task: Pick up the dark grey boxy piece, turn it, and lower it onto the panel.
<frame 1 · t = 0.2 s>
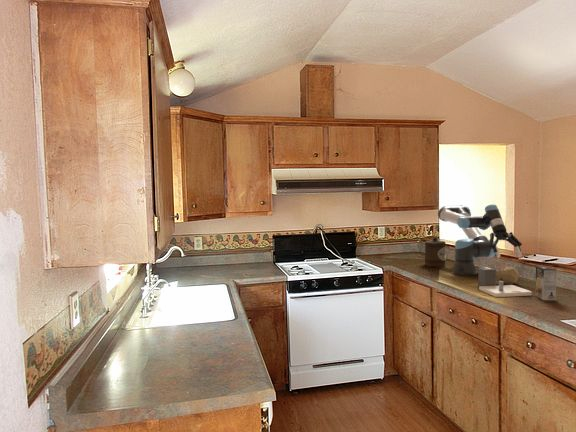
hand: (509, 256, 242), 16 cm above the counter, tool tilted 35°, fingers open, 13 cm apart
panel: (504, 292, 219), on the counter
tan faceted lump: (506, 283, 240), on the counter
coffee box: (545, 298, 206), on the counter
dark grey boxy piece: (487, 287, 231), on the counter
wooden container: (435, 265, 305), on the counter
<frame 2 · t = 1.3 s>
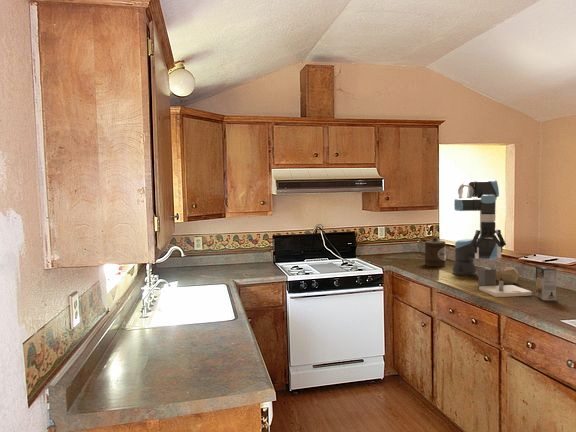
hand: (488, 258, 230), 17 cm above the counter, tool pointing down, fingers open, 13 cm apart
nothing on the counter moved.
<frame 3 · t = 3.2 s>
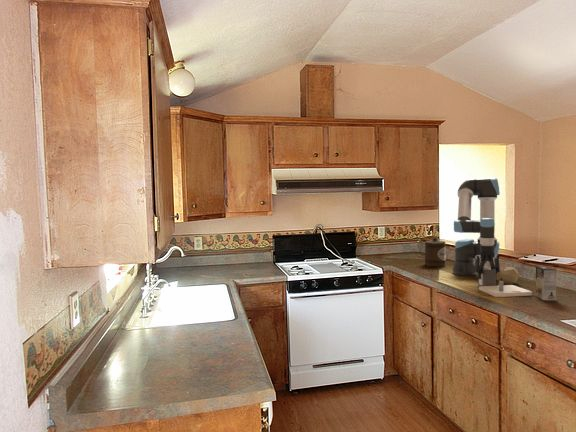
hand: (487, 284, 231), 2 cm above the counter, tool pointing down, fingers closed on dark grey boxy piece, 7 cm apart
dark grey boxy piece: (487, 287, 231), on the counter, touching gripper
everything else where it was.
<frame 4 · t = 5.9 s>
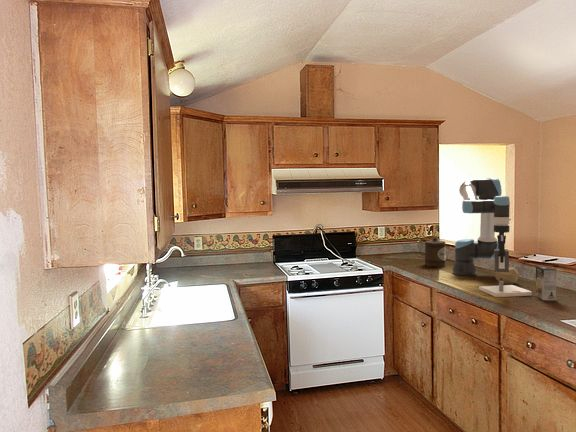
hand: (501, 267, 215), 15 cm above the counter, tool pointing down, fingers closed on dark grey boxy piece, 7 cm apart
dark grey boxy piece: (501, 270, 215), point 13 cm above the counter, touching gripper
everything else where it was.
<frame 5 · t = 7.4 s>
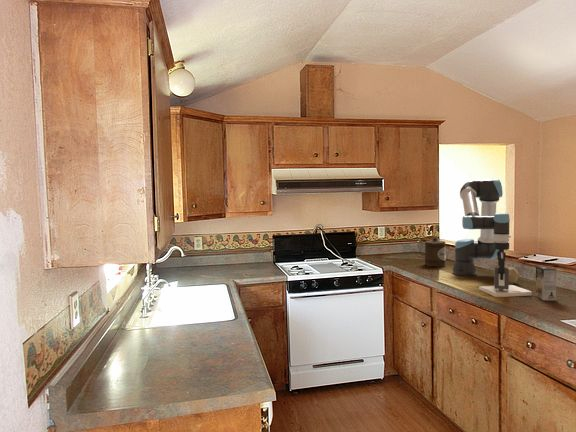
hand: (501, 284, 216), 6 cm above the counter, tool pointing down, fingers closed on dark grey boxy piece, 7 cm apart
dark grey boxy piece: (501, 287, 216), point 4 cm above the counter, touching gripper
everything else where it was.
when the fingers open (5 cm above the counter, at t = 8.4 s): dark grey boxy piece drops 1 cm, resting on panel.
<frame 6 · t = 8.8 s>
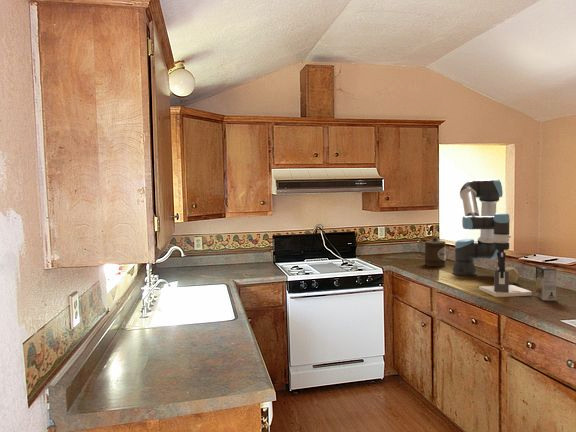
hand: (501, 281, 215), 7 cm above the counter, tool pointing down, fingers open, 12 cm apart
dark grey boxy piece: (501, 290, 216), point 2 cm above the counter, touching panel
everything else where it was.
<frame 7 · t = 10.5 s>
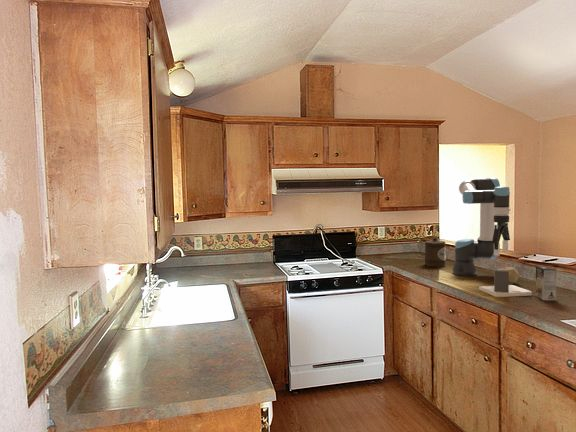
hand: (501, 253, 218), 22 cm above the counter, tool pointing down, fingers open, 13 cm apart
nothing on the counter moved.
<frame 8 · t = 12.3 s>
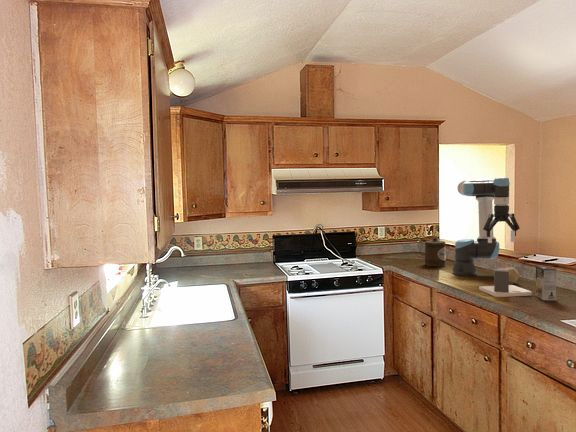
hand: (501, 242, 226), 27 cm above the counter, tool pointing down, fingers open, 13 cm apart
nothing on the counter moved.
at the end: dark grey boxy piece 0.0 cm from the target spot on the panel, point 2.0 cm above the panel's base; dark grey boxy piece tilted 0°; the gripper is holding nothing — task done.
